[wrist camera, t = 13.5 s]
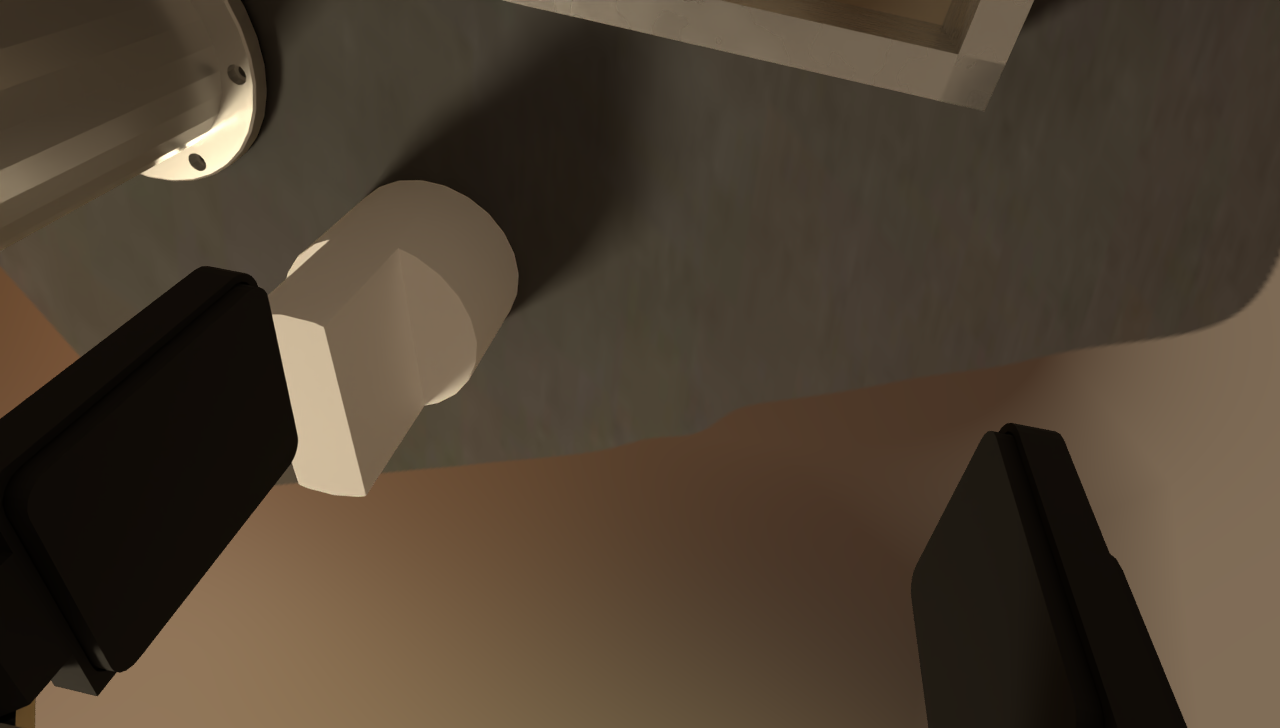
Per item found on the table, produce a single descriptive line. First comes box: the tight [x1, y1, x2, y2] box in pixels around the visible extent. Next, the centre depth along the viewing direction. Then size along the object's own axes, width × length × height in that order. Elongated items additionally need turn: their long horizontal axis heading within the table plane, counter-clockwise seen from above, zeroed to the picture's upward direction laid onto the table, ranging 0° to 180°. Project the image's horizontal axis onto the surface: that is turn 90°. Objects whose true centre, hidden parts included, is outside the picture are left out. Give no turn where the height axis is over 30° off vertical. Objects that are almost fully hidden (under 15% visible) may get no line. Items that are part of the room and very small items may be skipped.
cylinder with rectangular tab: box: [268, 180, 519, 497], centre depth 34 cm, size 9×9×12 cm
